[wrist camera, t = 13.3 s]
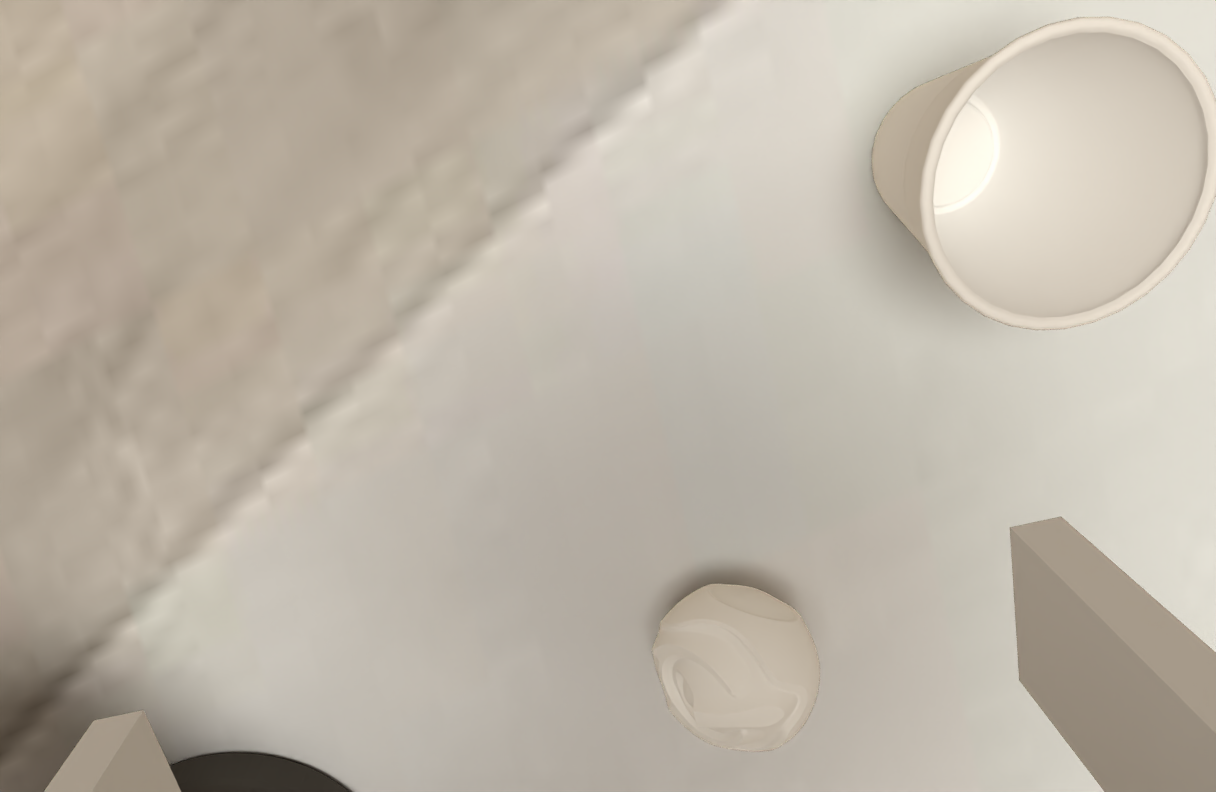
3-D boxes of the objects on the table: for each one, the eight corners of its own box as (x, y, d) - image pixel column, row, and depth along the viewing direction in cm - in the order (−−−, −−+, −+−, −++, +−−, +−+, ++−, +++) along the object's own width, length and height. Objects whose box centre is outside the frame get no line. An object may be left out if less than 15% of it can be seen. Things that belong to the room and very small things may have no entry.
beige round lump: (631, 572, 46) (647, 667, 39) (779, 534, 46) (822, 622, 39) (668, 700, 49) (688, 810, 42) (807, 664, 49) (853, 770, 41)
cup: (830, 279, 42) (922, 349, 31) (820, 46, 38) (920, 37, 28) (1046, 250, 42) (1209, 311, 31) (1056, 15, 38) (1242, -4, 28)
